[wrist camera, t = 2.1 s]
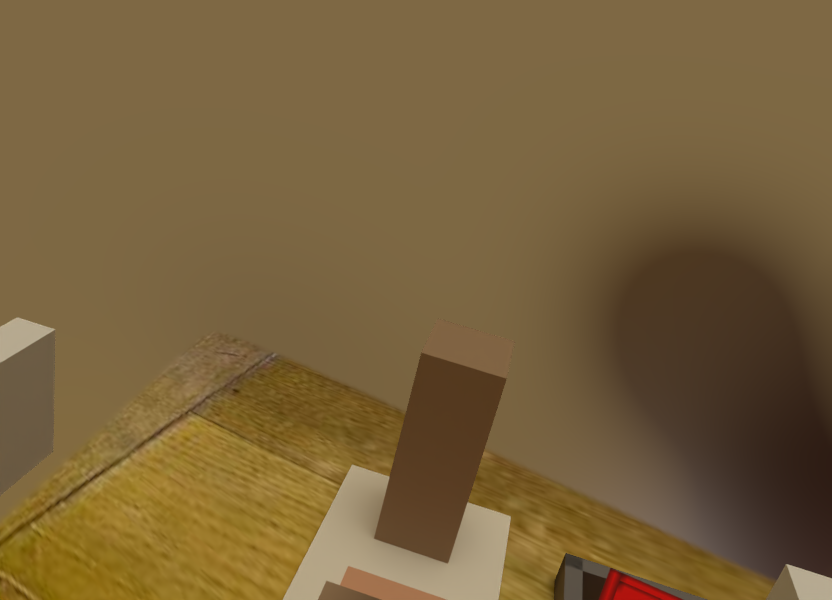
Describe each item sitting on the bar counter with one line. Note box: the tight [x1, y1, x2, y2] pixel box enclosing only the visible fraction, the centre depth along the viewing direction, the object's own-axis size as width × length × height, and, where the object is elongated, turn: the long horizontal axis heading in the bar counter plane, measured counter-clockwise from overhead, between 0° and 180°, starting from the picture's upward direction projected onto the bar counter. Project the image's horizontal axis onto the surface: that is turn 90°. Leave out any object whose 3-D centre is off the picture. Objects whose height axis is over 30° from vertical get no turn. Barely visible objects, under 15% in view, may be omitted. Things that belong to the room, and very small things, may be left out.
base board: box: [283, 319, 515, 600], centre depth 42 cm, size 12×18×17 cm, turn 167°
